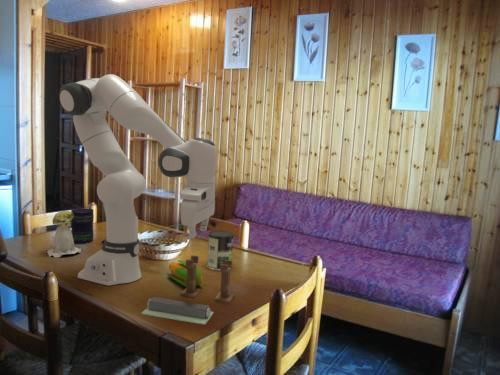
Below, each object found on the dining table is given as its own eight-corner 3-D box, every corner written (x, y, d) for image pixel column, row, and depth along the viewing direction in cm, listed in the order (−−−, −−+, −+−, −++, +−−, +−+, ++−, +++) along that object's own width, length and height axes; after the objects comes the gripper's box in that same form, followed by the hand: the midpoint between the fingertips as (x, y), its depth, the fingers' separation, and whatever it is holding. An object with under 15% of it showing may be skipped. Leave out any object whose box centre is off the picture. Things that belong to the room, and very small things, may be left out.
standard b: (214, 300, 135) (216, 264, 133) (220, 293, 140) (221, 259, 139) (229, 302, 133) (231, 266, 132) (234, 295, 139) (236, 260, 138)
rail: (146, 309, 124) (147, 300, 124) (151, 305, 127) (151, 296, 127) (207, 319, 120) (207, 309, 120) (210, 315, 123) (210, 305, 122)
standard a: (180, 295, 137) (181, 259, 135) (187, 288, 143) (188, 254, 141) (194, 297, 136) (196, 261, 134) (200, 290, 142) (202, 256, 140)
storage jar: (88, 245, 187) (88, 213, 185) (66, 243, 187) (66, 211, 185) (96, 239, 197) (96, 208, 195) (76, 238, 197) (76, 207, 195)
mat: (141, 314, 122) (141, 312, 122) (153, 303, 130) (153, 302, 129) (205, 324, 118) (205, 323, 117) (213, 313, 125) (213, 311, 125)
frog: (86, 254, 174) (86, 212, 172) (55, 260, 164) (56, 215, 162) (72, 247, 182) (73, 207, 179) (43, 253, 172) (42, 210, 170)
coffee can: (234, 264, 172) (236, 231, 170) (228, 272, 162) (230, 237, 160) (211, 261, 174) (212, 229, 172) (203, 269, 164) (205, 234, 162)
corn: (191, 271, 139) (161, 255, 153) (189, 293, 139) (159, 275, 154) (208, 268, 144) (178, 254, 158) (206, 289, 144) (176, 273, 159)
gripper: (202, 185, 137) (200, 225, 139) (177, 194, 118) (175, 240, 120) (220, 187, 136) (218, 228, 138) (198, 196, 116) (195, 243, 118)
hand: (198, 234), depth 129 cm, fingers open, 8 cm apart
